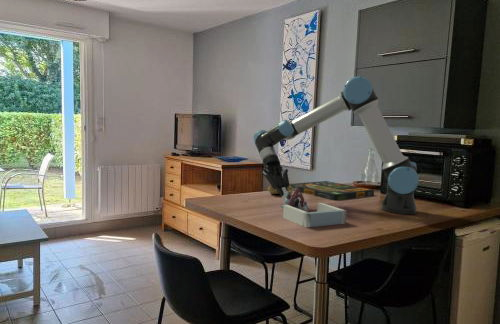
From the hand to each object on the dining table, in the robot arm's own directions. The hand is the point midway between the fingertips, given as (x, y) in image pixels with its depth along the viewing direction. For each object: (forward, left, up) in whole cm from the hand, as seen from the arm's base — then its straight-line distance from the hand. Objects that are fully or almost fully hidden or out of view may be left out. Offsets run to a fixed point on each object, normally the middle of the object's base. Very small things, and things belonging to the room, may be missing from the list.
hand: (287, 201), depth 162 cm
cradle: (-16, +6, -4) cm, 17 cm away
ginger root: (+22, -31, -4) cm, 39 cm away
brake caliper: (-5, +2, -4) cm, 7 cm away
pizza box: (+8, -61, -5) cm, 62 cm away
